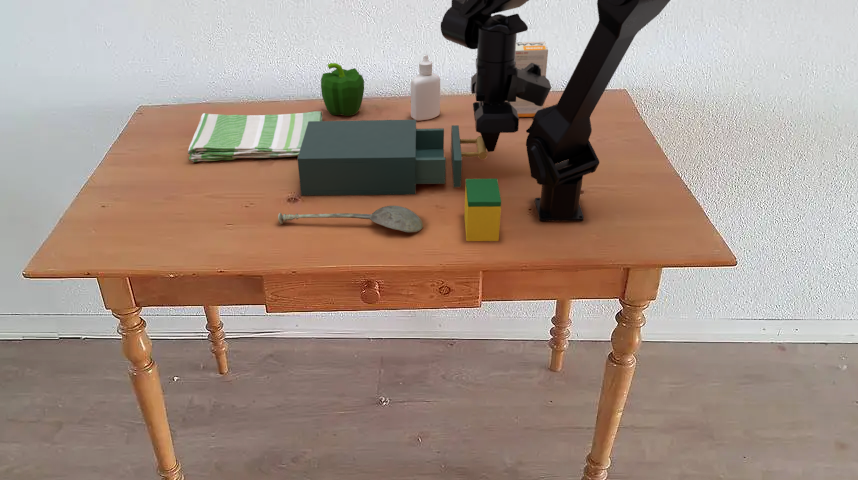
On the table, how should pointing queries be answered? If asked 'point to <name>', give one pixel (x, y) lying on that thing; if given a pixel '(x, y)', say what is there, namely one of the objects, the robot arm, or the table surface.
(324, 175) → the cabinet
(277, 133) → the dish towel
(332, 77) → the bell pepper
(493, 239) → the sponge
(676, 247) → the table surface
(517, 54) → the supplement box
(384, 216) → the soupspoon
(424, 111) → the eye dropper bottle
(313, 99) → the table surface
